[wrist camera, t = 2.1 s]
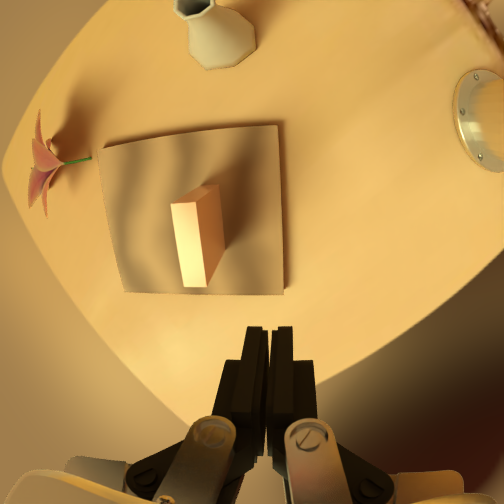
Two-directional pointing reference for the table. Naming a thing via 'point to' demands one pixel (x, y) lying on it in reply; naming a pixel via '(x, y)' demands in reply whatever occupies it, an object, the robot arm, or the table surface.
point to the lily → (43, 167)
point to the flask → (216, 33)
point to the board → (182, 182)
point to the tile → (199, 234)
